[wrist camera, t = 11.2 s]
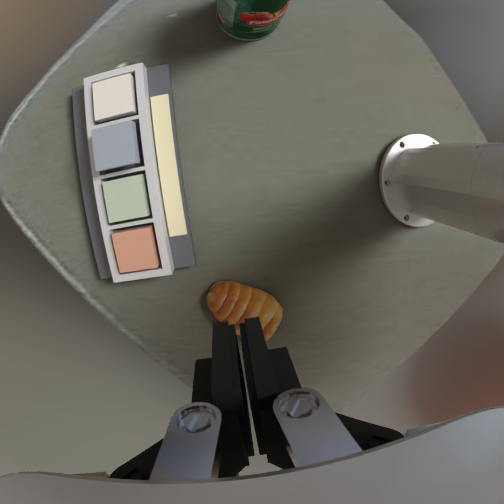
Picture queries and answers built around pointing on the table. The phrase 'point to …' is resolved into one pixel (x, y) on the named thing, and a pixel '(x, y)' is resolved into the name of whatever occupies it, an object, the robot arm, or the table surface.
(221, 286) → the pastry
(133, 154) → the slate key
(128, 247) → the terracotta key
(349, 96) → the table surface
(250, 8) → the canned tomato
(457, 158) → the robot arm
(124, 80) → the ivory key
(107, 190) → the sage key
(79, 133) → the keypad
